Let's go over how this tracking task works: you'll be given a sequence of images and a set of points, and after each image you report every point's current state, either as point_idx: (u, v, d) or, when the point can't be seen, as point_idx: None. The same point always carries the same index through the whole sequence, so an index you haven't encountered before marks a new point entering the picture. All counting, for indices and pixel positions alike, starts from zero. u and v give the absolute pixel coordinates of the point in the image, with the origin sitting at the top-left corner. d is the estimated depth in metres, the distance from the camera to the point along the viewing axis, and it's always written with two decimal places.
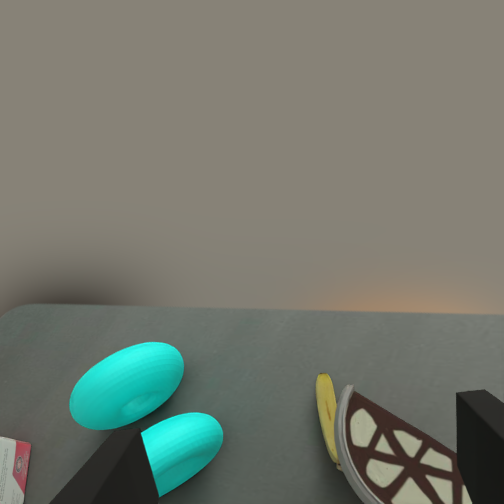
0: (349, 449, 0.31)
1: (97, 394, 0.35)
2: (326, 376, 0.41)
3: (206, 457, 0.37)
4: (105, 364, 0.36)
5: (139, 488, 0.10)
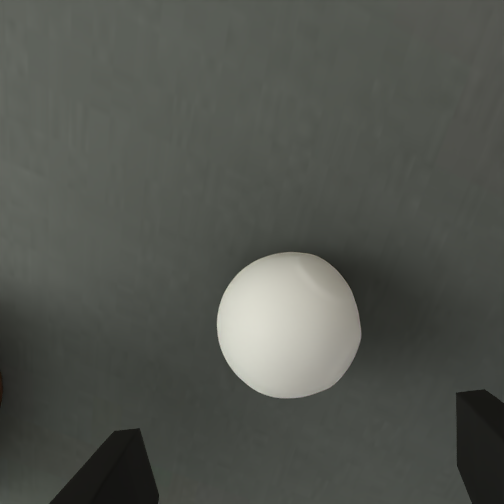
0: None
1: None
2: None
3: None
4: None
5: (139, 488, 0.10)
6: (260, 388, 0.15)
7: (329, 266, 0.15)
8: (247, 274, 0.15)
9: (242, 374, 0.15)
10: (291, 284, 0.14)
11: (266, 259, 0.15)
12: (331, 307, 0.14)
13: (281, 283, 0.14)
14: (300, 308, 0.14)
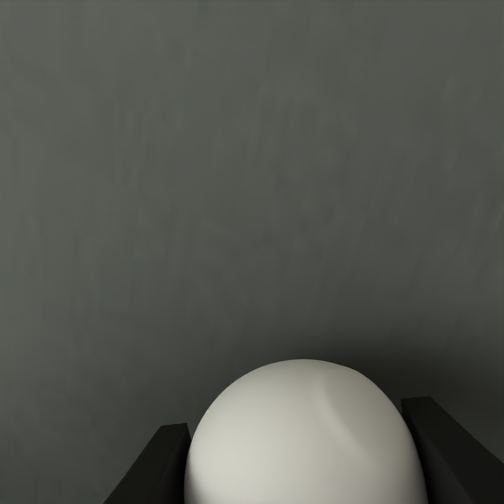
0: None
1: None
2: None
3: None
4: None
5: None
6: None
7: (373, 392, 0.09)
8: (233, 412, 0.09)
9: None
10: (312, 447, 0.08)
11: (266, 381, 0.09)
12: (385, 490, 0.08)
13: (293, 445, 0.08)
14: (330, 500, 0.07)
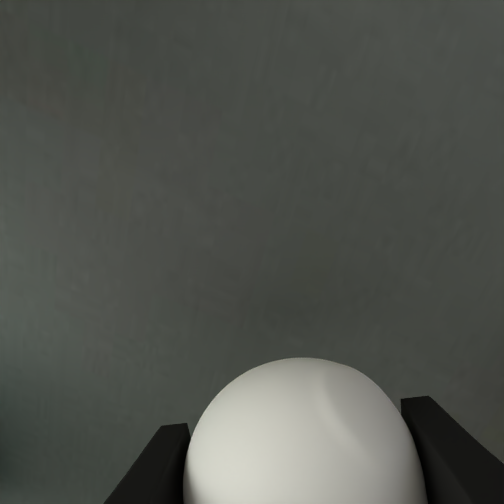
0: None
1: None
2: None
3: None
4: None
5: None
6: None
7: (373, 391, 0.09)
8: (233, 410, 0.09)
9: None
10: (311, 445, 0.08)
11: (265, 379, 0.09)
12: (384, 488, 0.08)
13: (292, 443, 0.08)
14: (329, 499, 0.07)
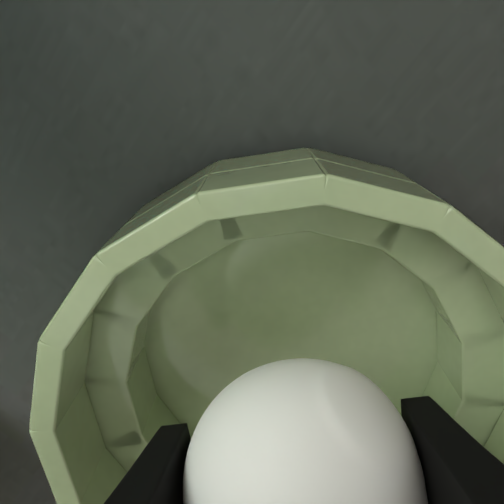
0: None
1: None
2: None
3: None
4: None
5: None
6: None
7: (373, 391, 0.09)
8: (232, 411, 0.09)
9: None
10: (311, 446, 0.08)
11: (265, 380, 0.09)
12: (384, 489, 0.08)
13: (292, 444, 0.08)
14: (329, 500, 0.07)
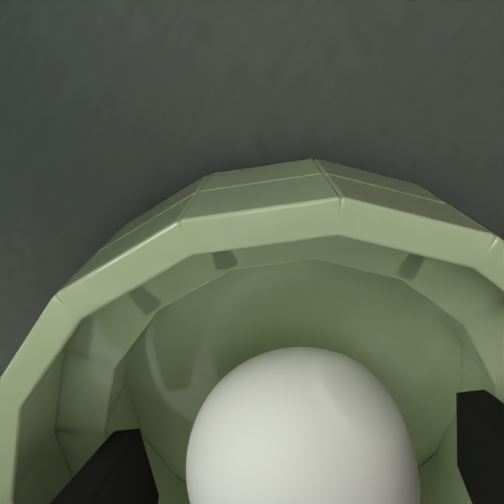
0: None
1: None
2: None
3: None
4: None
5: (139, 488, 0.10)
6: None
7: (367, 377, 0.10)
8: (233, 396, 0.09)
9: None
10: (308, 427, 0.08)
11: (265, 367, 0.09)
12: (377, 468, 0.08)
13: (290, 425, 0.08)
14: (325, 477, 0.08)
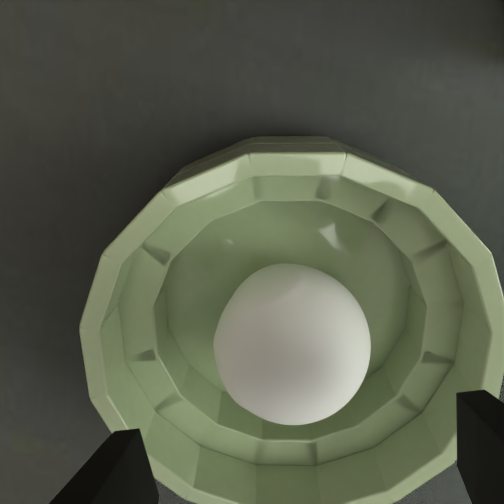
0: None
1: None
2: None
3: None
4: None
5: (139, 488, 0.10)
6: (294, 325, 0.12)
7: None
8: None
9: (320, 322, 0.13)
10: None
11: None
12: (288, 424, 0.14)
13: None
14: (318, 418, 0.13)
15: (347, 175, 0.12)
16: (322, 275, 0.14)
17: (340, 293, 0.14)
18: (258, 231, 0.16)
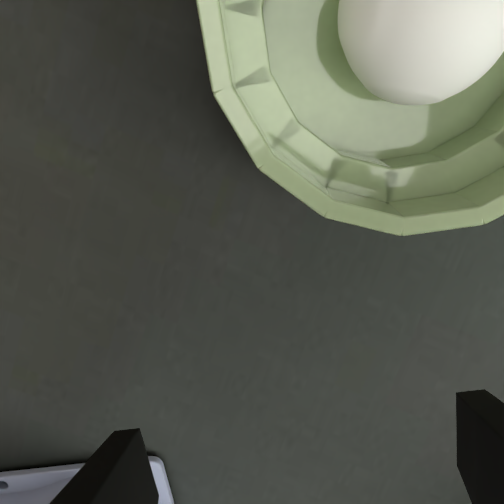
0: None
1: None
2: None
3: None
4: None
5: (139, 488, 0.10)
6: None
7: (396, 103, 0.14)
8: None
9: None
10: (459, 84, 0.12)
11: None
12: (412, 80, 0.12)
13: (470, 80, 0.12)
14: (453, 67, 0.12)
15: None
16: None
17: None
18: None
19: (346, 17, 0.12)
